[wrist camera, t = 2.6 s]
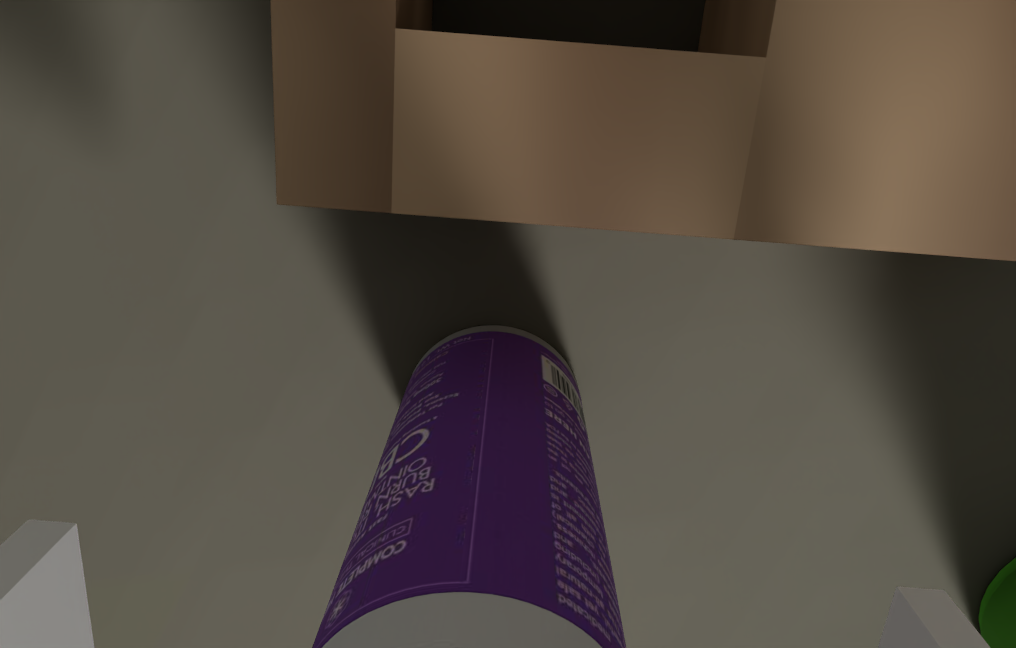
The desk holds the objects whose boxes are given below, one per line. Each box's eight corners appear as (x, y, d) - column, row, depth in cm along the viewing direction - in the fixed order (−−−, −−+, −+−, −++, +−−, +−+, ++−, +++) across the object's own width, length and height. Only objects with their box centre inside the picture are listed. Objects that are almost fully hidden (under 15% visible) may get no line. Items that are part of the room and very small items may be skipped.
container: (424, 305, 19) (113, 1065, 4) (602, 346, 19) (844, 1182, 5) (390, 462, 20) (80, 1403, 6) (556, 498, 20) (633, 1475, 6)
